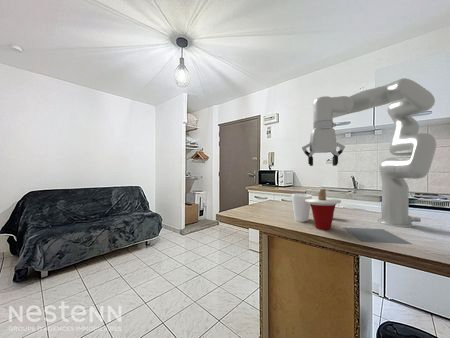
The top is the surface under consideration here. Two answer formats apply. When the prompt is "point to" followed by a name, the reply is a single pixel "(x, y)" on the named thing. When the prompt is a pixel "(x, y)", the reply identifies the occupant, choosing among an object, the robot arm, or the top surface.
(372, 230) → the mat
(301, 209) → the foam cup
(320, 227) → the plastic cup
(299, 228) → the top surface
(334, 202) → the lid
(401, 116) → the robot arm
